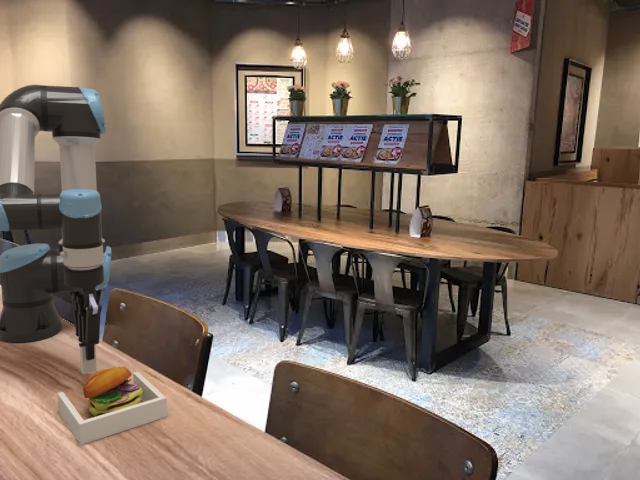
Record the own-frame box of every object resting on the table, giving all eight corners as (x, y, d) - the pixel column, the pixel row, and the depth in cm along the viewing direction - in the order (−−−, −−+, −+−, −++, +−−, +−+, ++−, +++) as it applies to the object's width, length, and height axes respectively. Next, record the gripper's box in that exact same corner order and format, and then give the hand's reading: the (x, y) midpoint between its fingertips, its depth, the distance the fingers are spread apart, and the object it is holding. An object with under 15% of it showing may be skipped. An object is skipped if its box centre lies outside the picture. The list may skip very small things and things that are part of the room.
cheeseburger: (125, 429, 99) (111, 379, 98) (79, 431, 102) (65, 382, 101) (156, 402, 109) (144, 357, 107) (113, 405, 112) (101, 360, 110)
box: (58, 411, 104) (57, 393, 103) (138, 388, 114) (137, 371, 114) (80, 445, 94) (79, 424, 93) (166, 416, 104) (166, 398, 103)
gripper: (55, 260, 111) (61, 364, 116) (74, 275, 102) (80, 388, 107) (92, 256, 116) (96, 356, 121) (113, 270, 107) (117, 378, 112)
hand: (88, 371), depth 114 cm, fingers closed
